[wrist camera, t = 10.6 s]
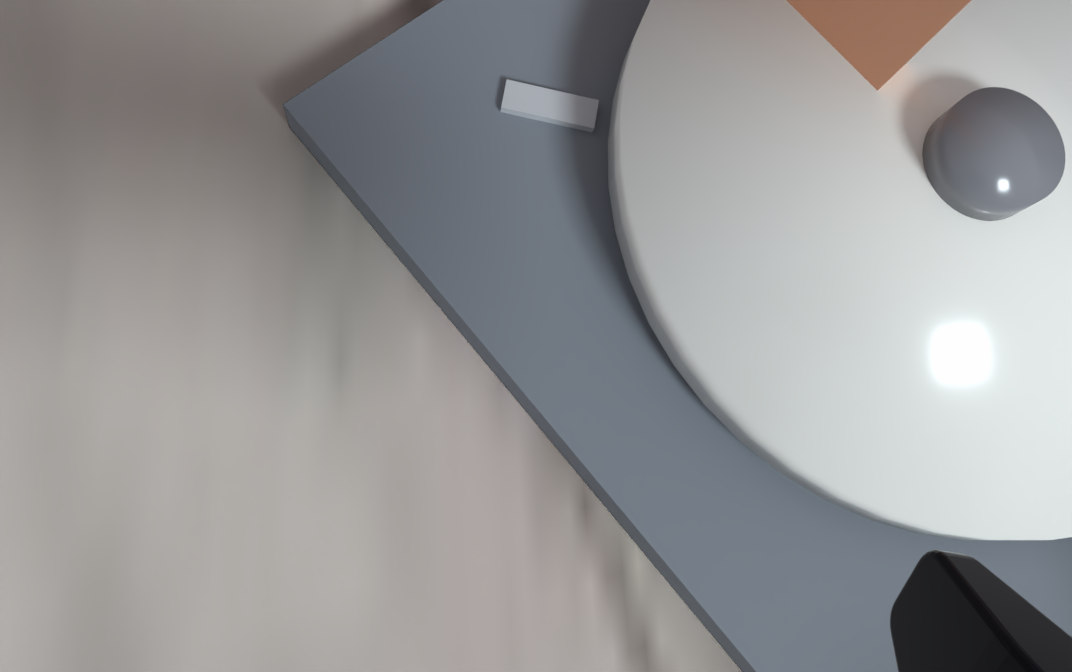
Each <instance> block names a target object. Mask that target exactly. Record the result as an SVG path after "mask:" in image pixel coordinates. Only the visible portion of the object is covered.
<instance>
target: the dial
mask: <svg viewBox="0 0 1072 672" xmlns="http://www.w3.org/2000/svg"><path fill="white" fill-rule="evenodd" d="M608 187H609V194H610V200H611V207H612V213H613V220H614V226H615V232H616V236H617V239H618V243H619V246H620V250H621V253H622V256H623V260H624V263H625V267H626V270H627V273H628V277H629V279H630V282H631V284H632V286H633V289H634V291H635V293H636V295H637V298H638V300H639V302H640V305H641V307H642V309H643V312H644V314H645V316H646V318H647V321H648V323H649V325H650V326H651V328H652V330H653V331H654V333H655V335H656V336H657V338H658V340H659V341H660V343H661V345H662V346H663V348H664V350H665V351H666V353H667V355H668V356H669V358H670V360H671V362H672V363H673V365H674V366H675V368H676V369H677V370H678V371H679V373H680V374H681V375H682V377H683V378H684V379H685V381H686V382H687V383H688V384H689V386H690V387H691V388H692V390H693V391H694V392H695V393H696V395H697V396H698V397H699V399H700V400H701V401H702V402H703V404H704V405H705V406H706V407H707V408H708V409H709V410H710V411H711V412H712V413H713V414H714V415H715V416H716V417H717V418H718V419H719V420H720V421H721V422H722V423H723V424H724V425H725V426H726V427H727V428H728V429H729V430H730V431H731V432H732V433H733V434H734V435H735V436H736V437H737V438H738V440H739V441H740V442H742V443H743V444H744V445H745V446H747V447H748V448H749V449H751V450H752V451H753V452H754V453H756V454H757V455H758V456H759V457H761V458H762V459H763V460H764V461H766V462H767V463H768V464H770V465H771V466H772V467H773V468H775V469H776V470H777V471H778V472H780V473H781V474H783V475H784V476H786V477H788V478H789V479H791V480H793V481H794V482H796V483H798V484H799V485H801V486H803V487H804V488H806V489H807V490H809V491H811V492H812V493H814V494H816V495H817V496H819V497H821V498H822V499H824V500H826V501H829V502H831V503H833V504H835V505H838V506H840V507H842V508H844V509H847V510H849V511H851V512H853V513H856V514H858V515H860V516H862V517H865V518H867V519H869V520H872V521H876V522H879V523H883V524H886V525H890V526H893V527H896V528H900V529H903V530H907V531H910V532H914V533H918V534H924V535H931V536H938V537H945V538H951V539H958V540H1055V539H1062V538H1068V537H1072V0H650V2H649V4H648V7H647V9H646V11H645V13H644V16H643V18H642V20H641V22H640V25H639V27H638V29H637V31H636V34H635V36H634V38H633V40H632V43H631V45H630V47H629V50H628V52H627V54H626V56H625V59H624V61H623V65H622V68H621V72H620V76H619V79H618V83H617V87H616V90H615V94H614V98H613V103H612V111H611V119H610V127H609V135H608Z"/></svg>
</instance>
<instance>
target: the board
mask: <svg viewBox="0 0 1072 672" xmlns="http://www.w3.org/2000/svg"><path fill="white" fill-rule="evenodd" d="M649 2H650V0H443V1H441V2H440V3H438V4H437V5H435V6H434V7H432V8H431V9H429V10H428V11H426V12H424V13H423V14H421V15H420V16H418V17H417V18H415V19H414V20H412V21H411V22H409V23H408V24H406V25H404V26H403V27H401V28H400V29H398V30H397V31H395V32H394V33H392V34H391V35H389V36H388V37H386V38H384V39H383V40H381V41H380V42H378V43H377V44H375V45H374V46H372V47H371V48H369V49H367V50H366V51H364V52H363V53H361V54H360V55H358V56H357V57H355V58H354V59H352V60H351V61H349V62H347V63H346V64H344V65H343V66H341V67H340V68H338V69H337V70H335V71H334V72H332V73H331V74H329V75H327V76H326V77H324V78H323V79H321V80H320V81H318V82H317V83H315V84H314V85H312V86H310V87H309V88H307V89H306V90H304V91H303V92H301V93H300V94H298V95H297V96H295V97H294V98H292V99H290V100H289V101H287V102H286V103H284V104H283V106H284V109H285V113H286V116H287V120H288V123H289V127H290V128H291V129H292V130H293V132H294V133H295V134H296V135H297V136H298V138H299V139H300V140H301V141H302V142H303V144H304V145H305V146H306V147H307V148H308V150H309V151H310V152H311V153H312V154H313V156H314V157H315V158H316V159H317V161H318V162H319V163H320V164H321V165H322V167H323V168H324V169H325V170H326V171H327V173H328V174H329V175H330V176H331V177H332V179H333V180H334V181H335V182H336V183H337V185H338V186H339V187H340V188H341V189H342V191H343V192H344V193H345V194H346V195H347V197H348V198H349V199H350V200H351V201H352V203H353V204H354V205H355V206H356V207H357V209H358V210H359V211H360V212H361V213H362V215H363V216H364V217H365V218H366V219H367V221H368V222H369V223H370V224H371V225H372V227H373V228H374V229H375V230H376V231H377V233H378V234H379V235H380V236H381V237H382V239H383V240H384V241H385V242H386V243H387V245H388V246H389V247H390V248H391V249H392V251H393V252H394V253H395V254H396V255H397V257H398V258H399V259H400V260H401V261H402V263H403V264H404V265H405V266H406V267H407V269H408V270H409V271H410V272H411V274H412V275H413V276H414V277H415V278H416V280H417V281H418V282H419V283H420V284H421V286H422V287H423V288H424V289H425V290H426V292H427V293H428V294H429V295H430V296H431V298H432V299H433V300H434V301H435V302H436V304H437V305H438V306H439V307H440V308H441V310H442V311H443V312H444V313H445V314H446V316H447V317H448V318H449V319H450V320H451V322H452V323H453V324H454V325H455V326H456V328H457V329H458V330H459V331H460V332H461V334H462V335H463V336H464V337H465V338H466V340H467V341H468V342H469V343H470V344H471V346H472V347H473V348H474V349H475V350H476V352H477V353H478V354H479V355H480V356H481V358H482V359H483V360H484V361H485V362H486V364H487V365H488V366H489V367H490V368H491V370H492V371H493V372H494V373H495V374H496V376H497V377H498V378H499V379H500V380H501V382H502V383H503V384H504V385H505V387H506V388H507V389H508V390H509V391H510V393H511V394H512V395H513V396H514V397H515V399H516V400H517V401H518V402H519V403H520V405H521V406H522V407H523V408H524V409H525V411H526V412H527V413H528V414H529V415H530V417H531V418H532V419H533V420H534V421H535V423H536V424H537V425H538V426H539V427H540V429H541V430H542V431H543V432H544V433H545V435H546V436H547V437H548V438H549V439H550V441H551V442H552V443H553V444H554V445H555V447H556V448H557V449H558V450H559V451H560V453H561V454H562V455H563V456H564V457H565V459H566V460H567V461H568V462H569V463H570V465H571V466H572V467H573V468H574V469H575V471H576V472H577V473H578V474H579V475H580V477H581V478H582V479H583V480H584V481H585V483H586V484H587V485H588V486H589V487H590V489H591V490H592V491H593V492H594V493H595V495H596V496H597V497H598V498H599V500H600V501H601V502H602V503H603V504H604V506H605V507H606V508H607V509H608V510H609V512H610V513H611V514H612V515H613V516H614V518H615V519H616V520H617V521H618V522H619V524H620V525H621V526H622V527H623V528H624V530H625V531H626V532H627V533H628V534H629V536H630V537H631V538H632V539H633V540H634V542H635V543H636V544H637V545H638V546H639V548H640V549H641V550H642V551H643V552H644V554H645V555H646V556H647V557H648V558H649V560H650V561H651V562H652V563H653V564H654V566H655V567H656V568H657V569H658V570H659V572H660V573H661V574H662V575H663V576H664V578H665V579H666V580H667V581H668V582H669V584H670V585H671V586H672V587H673V588H674V590H675V591H676V592H677V593H678V594H679V596H680V597H681V598H682V599H683V600H684V602H685V603H686V604H687V605H688V606H689V608H690V609H691V610H692V611H693V612H694V614H695V615H696V616H697V617H698V619H699V620H700V621H701V622H702V623H703V625H704V626H705V627H706V628H707V629H708V631H709V632H710V633H711V634H712V635H713V637H714V638H715V639H716V640H717V641H718V643H719V644H720V645H721V646H722V647H723V649H724V650H725V651H726V652H727V653H728V655H729V656H730V657H731V658H732V659H733V661H734V662H735V663H736V664H737V665H738V667H739V668H740V669H741V670H742V671H743V672H898V668H897V662H896V657H895V652H894V646H893V641H892V636H891V630H890V615H891V610H892V607H893V604H894V602H895V600H896V598H897V597H898V595H899V593H900V592H901V590H902V588H903V587H904V585H905V583H906V582H907V580H908V578H909V577H910V575H911V573H912V571H913V570H914V568H915V566H916V565H917V563H918V561H919V560H920V558H921V557H922V556H923V555H924V554H925V553H927V552H928V551H931V550H942V551H949V552H955V553H961V554H966V555H969V556H972V557H974V558H975V559H977V560H978V561H979V562H980V563H982V564H983V565H984V566H985V567H987V568H988V569H989V570H990V571H991V572H993V573H994V574H995V575H996V576H998V577H999V578H1000V579H1001V580H1002V581H1004V582H1005V583H1006V584H1007V585H1009V586H1010V587H1011V588H1012V589H1013V590H1015V591H1016V592H1017V593H1018V594H1020V595H1021V596H1022V597H1023V598H1024V599H1026V600H1027V601H1028V602H1029V603H1031V604H1032V605H1033V606H1034V607H1036V608H1037V609H1038V610H1039V611H1040V612H1042V613H1043V614H1044V615H1045V616H1047V617H1048V618H1049V619H1050V620H1051V621H1053V622H1054V623H1055V624H1056V625H1058V626H1059V627H1060V628H1061V629H1062V630H1064V631H1065V632H1066V633H1067V634H1069V635H1070V636H1071V637H1072V537H1068V538H1062V539H1055V540H958V539H951V538H945V537H938V536H931V535H924V534H918V533H914V532H910V531H907V530H903V529H900V528H896V527H893V526H890V525H886V524H883V523H879V522H876V521H872V520H869V519H867V518H865V517H862V516H860V515H858V514H856V513H853V512H851V511H849V510H847V509H844V508H842V507H840V506H838V505H835V504H833V503H831V502H829V501H826V500H824V499H822V498H821V497H819V496H817V495H816V494H814V493H812V492H811V491H809V490H807V489H806V488H804V487H803V486H801V485H799V484H798V483H796V482H794V481H793V480H791V479H789V478H788V477H786V476H784V475H783V474H781V473H780V472H778V471H777V470H776V469H775V468H773V467H772V466H771V465H770V464H768V463H767V462H766V461H764V460H763V459H762V458H761V457H759V456H758V455H757V454H756V453H754V452H753V451H752V450H751V449H749V448H748V447H747V446H745V445H744V444H743V443H742V442H740V441H739V440H738V438H737V437H736V436H735V435H734V434H733V433H732V432H731V431H730V430H729V429H728V428H727V427H726V426H725V425H724V424H723V423H722V422H721V421H720V420H719V419H718V418H717V417H716V416H715V415H714V414H713V413H712V412H711V411H710V410H709V409H708V408H707V407H706V406H705V405H704V404H703V402H702V401H701V400H700V399H699V397H698V396H697V395H696V393H695V392H694V391H693V390H692V388H691V387H690V386H689V384H688V383H687V382H686V381H685V379H684V378H683V377H682V375H681V374H680V373H679V371H678V370H677V369H676V368H675V366H674V365H673V363H672V362H671V360H670V358H669V356H668V355H667V353H666V351H665V350H664V348H663V346H662V345H661V343H660V341H659V340H658V338H657V336H656V335H655V333H654V331H653V330H652V328H651V326H650V325H649V323H648V321H647V318H646V316H645V314H644V312H643V309H642V307H641V305H640V302H639V300H638V298H637V295H636V293H635V291H634V289H633V286H632V284H631V282H630V279H629V277H628V273H627V270H626V267H625V263H624V260H623V256H622V253H621V250H620V246H619V243H618V239H617V236H616V232H615V226H614V220H613V213H612V207H611V200H610V194H609V187H608V135H609V127H610V119H611V111H612V103H613V98H614V94H615V90H616V87H617V83H618V79H619V76H620V72H621V68H622V65H623V61H624V59H625V56H626V54H627V52H628V50H629V47H630V45H631V43H632V40H633V38H634V36H635V34H636V31H637V29H638V27H639V25H640V22H641V20H642V18H643V16H644V13H645V11H646V9H647V7H648V4H649Z"/></svg>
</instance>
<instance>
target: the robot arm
mask: <svg viewBox="0 0 1072 672" xmlns="http://www.w3.org/2000/svg"><path fill="white" fill-rule="evenodd" d="M890 630H891V636H892V641H893V646H894V652H895V657H896V662H897V668H898V672H1072V637H1071V636H1070V635H1069V634H1067V633H1066V632H1065V631H1064V630H1062V629H1061V628H1060V627H1059V626H1058V625H1056V624H1055V623H1054V622H1053V621H1051V620H1050V619H1049V618H1048V617H1047V616H1045V615H1044V614H1043V613H1042V612H1040V611H1039V610H1038V609H1037V608H1036V607H1034V606H1033V605H1032V604H1031V603H1029V602H1028V601H1027V600H1026V599H1024V598H1023V597H1022V596H1021V595H1020V594H1018V593H1017V592H1016V591H1015V590H1013V589H1012V588H1011V587H1010V586H1009V585H1007V584H1006V583H1005V582H1004V581H1002V580H1001V579H1000V578H999V577H998V576H996V575H995V574H994V573H993V572H991V571H990V570H989V569H988V568H987V567H985V566H984V565H983V564H982V563H980V562H979V561H978V560H977V559H975V558H974V557H972V556H969V555H966V554H961V553H955V552H949V551H942V550H931V551H928V552H927V553H925V554H924V555H923V556H922V557H921V558H920V560H919V561H918V563H917V565H916V566H915V568H914V570H913V571H912V573H911V575H910V577H909V578H908V580H907V582H906V583H905V585H904V587H903V588H902V590H901V592H900V593H899V595H898V597H897V598H896V600H895V602H894V604H893V607H892V610H891V615H890Z"/></svg>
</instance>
